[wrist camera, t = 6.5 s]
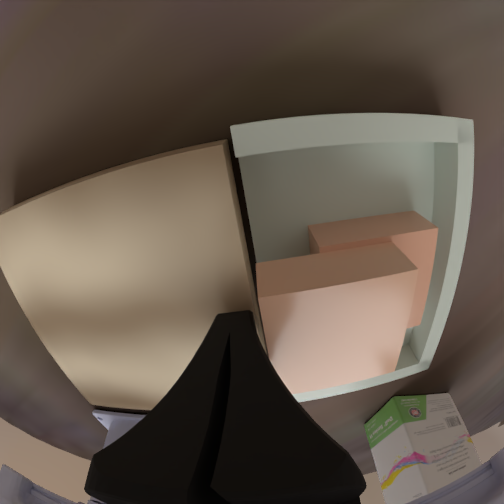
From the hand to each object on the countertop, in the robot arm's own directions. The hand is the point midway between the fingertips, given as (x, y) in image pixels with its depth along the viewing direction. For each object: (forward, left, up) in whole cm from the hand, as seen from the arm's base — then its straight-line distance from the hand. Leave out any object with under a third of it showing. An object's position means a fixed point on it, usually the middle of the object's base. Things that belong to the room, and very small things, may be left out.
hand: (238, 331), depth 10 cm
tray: (0, -6, -3) cm, 6 cm away
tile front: (0, -3, -1) cm, 4 cm away
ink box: (-17, -13, -3) cm, 21 cm away
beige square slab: (0, +5, -3) cm, 6 cm away
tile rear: (0, -6, -3) cm, 6 cm away
